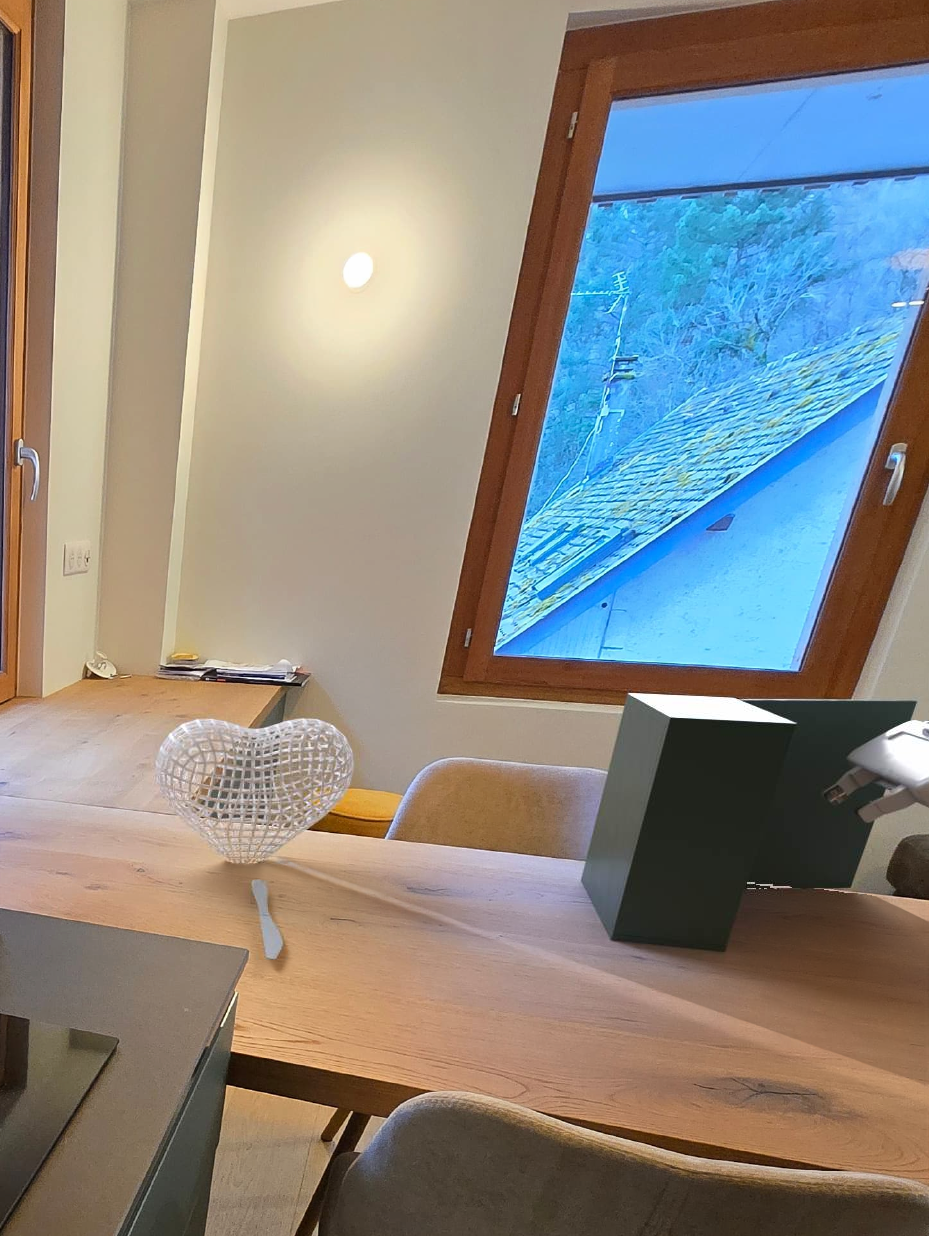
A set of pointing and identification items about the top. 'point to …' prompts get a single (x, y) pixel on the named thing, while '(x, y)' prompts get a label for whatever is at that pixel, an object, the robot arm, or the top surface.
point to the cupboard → (683, 817)
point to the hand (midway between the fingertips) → (842, 808)
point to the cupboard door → (820, 792)
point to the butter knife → (267, 921)
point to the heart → (253, 780)
